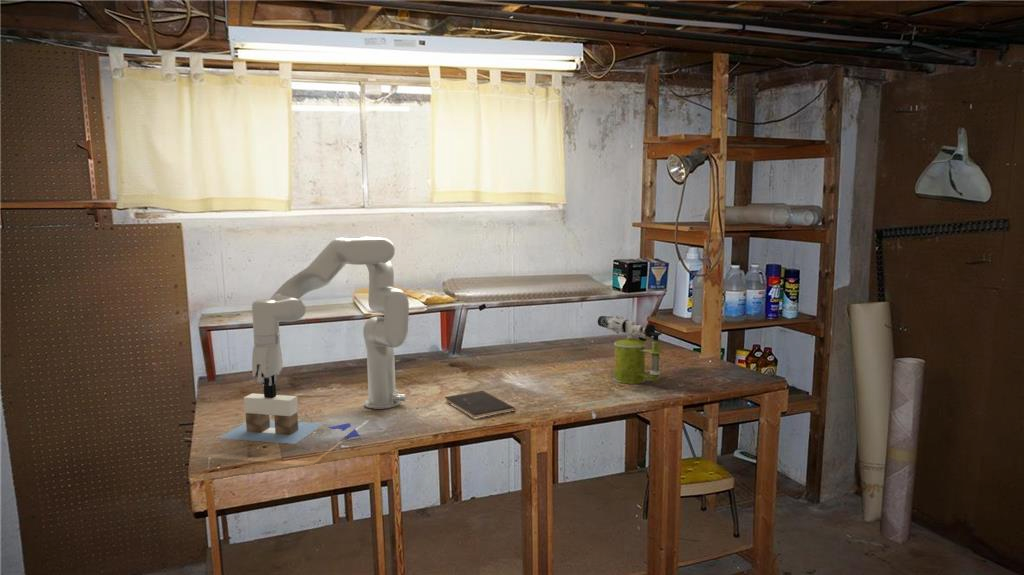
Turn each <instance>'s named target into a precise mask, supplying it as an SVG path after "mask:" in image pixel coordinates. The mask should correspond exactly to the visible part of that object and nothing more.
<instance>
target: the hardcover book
mask: <svg viewBox="0 0 1024 575" xmlns="http://www.w3.org/2000/svg"><path fill="white" fill-rule="evenodd" d="M444 398H445V400H446V401H448V402H449V403H451V404H453V405H454V406H456V407H457V408H459V409H461V410H462V411H464V412H466V413H467V414H469V415H471V416H472V417H474V418H475V417H479V416H483V415H489V414H494V413H499V412H505V411H512V410H515V411H516V408H515V407H514V406H513V405H510V404H509V403H508V402H505V401H503V400H502V399H499V398H498V397H496V396H494V395H492V394H490V393H489V392H488V391H487V392H486V391H485V390H479V391H472V392H467V393H461V394H454V395H450V396H449V395H448V396H445V397H444ZM448 402H447V403H448ZM449 403H448V404H449ZM451 404H450V405H451ZM454 406H453V407H454ZM456 407H455V408H456ZM457 408H456V409H457ZM459 409H458V410H459ZM462 411H461V412H462ZM467 414H466V415H467Z"/></svg>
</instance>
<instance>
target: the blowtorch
mask: <svg viewBox="0 0 1024 575" xmlns="http://www.w3.org/2000/svg"><path fill="white" fill-rule="evenodd" d="M597 324H598V326H599V327H602V328H604V329H608V330H610V331H613V332H614V333H616V334H620V333H624V334H625V333H626V334H627V337H626V338H625V339H620V340H617V341H614V344H613V345H614V376H613V378H612V379H613V381H614V380H615V381H614V382H616V381H618V382H617V383H619V382H621V383H620V384H624V383H629V385H637V384H638V385H639V384H644V383H645V382H646V379H650V380H651V381H654V382H656V381H658V380H660V378H661V371H660V354H664V350H660V349H659V348H660V343H661V341H659V336H661V335H662V334H663V333H662V332H658V331H656V327H655V325H654V324H651V323H650V324H647V325H646V327H645V326H644V325H642V324H638V325H637V324H636V322H635V321H632V320H630V319H627V318H625V317H623V316H621V315H616V316H606V315H600V316H598V318H597ZM635 332H637V333H639V334H640V335H641V337H640V336H639V337H638V339H636V338H635V339H634V336H633V334H635ZM646 337H648V338H652V339H653V340H652V341H651V344H652V349H646V345H647V344H646V341H647V339H646ZM646 352H647V353H649V354H651V370H649V373H647V372H646V370H645V368H646V367H645V366H646V365H645V364H646V362H645V361H646V360H645V359H646Z"/></svg>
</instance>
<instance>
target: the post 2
mask: <svg viewBox="0 0 1024 575" xmlns="http://www.w3.org/2000/svg"><path fill="white" fill-rule="evenodd" d="M298 414H299V413H298V412H297V413H295V414H293V415H292V416H280V415H273V416H274V420H275V434H282V435H291V434H292V433H294V432H295V431H297V430H298V422H299V416H298Z"/></svg>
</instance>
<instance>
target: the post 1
mask: <svg viewBox="0 0 1024 575" xmlns="http://www.w3.org/2000/svg"><path fill="white" fill-rule="evenodd" d="M270 420H271V419H270V415H266V414H253V413H245V423H246V427H247V432H255V433H262V432H263V431H265V430H267V429H268V428H270Z"/></svg>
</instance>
